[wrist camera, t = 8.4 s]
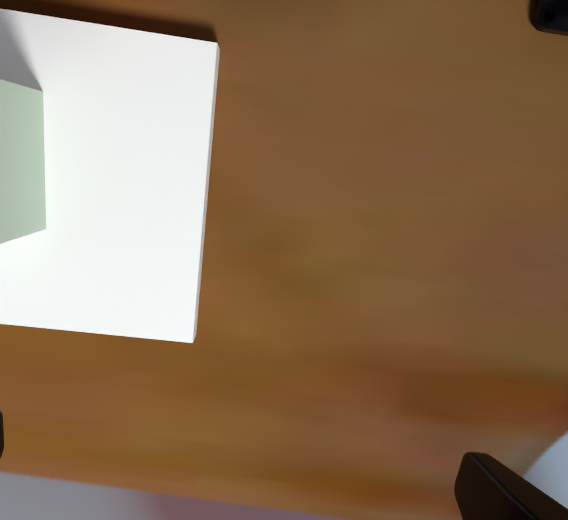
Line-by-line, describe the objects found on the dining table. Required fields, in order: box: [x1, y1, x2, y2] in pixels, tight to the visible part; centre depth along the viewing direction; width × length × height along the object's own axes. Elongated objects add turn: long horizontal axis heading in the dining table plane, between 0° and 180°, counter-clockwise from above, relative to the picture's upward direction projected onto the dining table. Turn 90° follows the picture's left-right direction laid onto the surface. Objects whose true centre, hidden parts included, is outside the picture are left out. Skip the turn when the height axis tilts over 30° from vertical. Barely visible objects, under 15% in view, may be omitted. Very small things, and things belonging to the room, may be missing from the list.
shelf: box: [0, 9, 220, 343], centre depth 17 cm, size 13×14×3 cm
